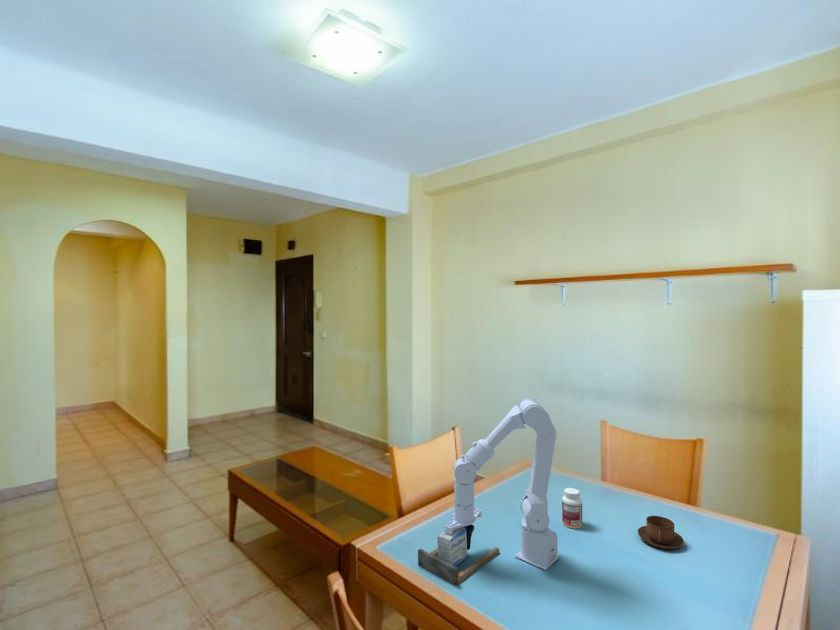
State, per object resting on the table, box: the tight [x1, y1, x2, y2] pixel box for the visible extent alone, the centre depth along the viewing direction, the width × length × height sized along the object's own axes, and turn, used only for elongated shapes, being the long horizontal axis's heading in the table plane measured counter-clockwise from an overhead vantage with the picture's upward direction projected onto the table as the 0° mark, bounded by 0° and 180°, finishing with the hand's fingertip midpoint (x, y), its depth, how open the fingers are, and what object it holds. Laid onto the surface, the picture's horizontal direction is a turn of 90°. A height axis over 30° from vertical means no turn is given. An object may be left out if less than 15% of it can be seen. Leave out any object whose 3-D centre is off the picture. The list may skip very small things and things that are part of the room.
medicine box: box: [436, 527, 468, 568], centre depth 119 cm, size 8×4×9 cm, turn 140°
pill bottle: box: [561, 487, 583, 530], centre depth 140 cm, size 6×6×11 cm
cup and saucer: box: [637, 515, 684, 550], centre depth 130 cm, size 12×12×6 cm
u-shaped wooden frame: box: [417, 546, 500, 586], centre depth 121 cm, size 13×20×4 cm, turn 137°
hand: (464, 549), depth 123 cm, fingers closed, pressing on medicine box
